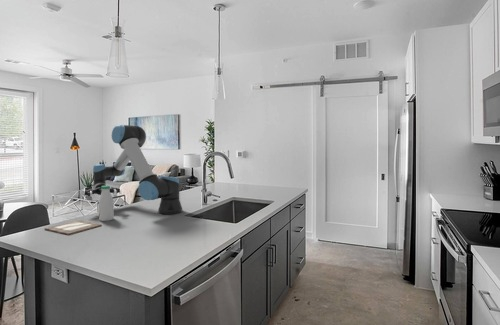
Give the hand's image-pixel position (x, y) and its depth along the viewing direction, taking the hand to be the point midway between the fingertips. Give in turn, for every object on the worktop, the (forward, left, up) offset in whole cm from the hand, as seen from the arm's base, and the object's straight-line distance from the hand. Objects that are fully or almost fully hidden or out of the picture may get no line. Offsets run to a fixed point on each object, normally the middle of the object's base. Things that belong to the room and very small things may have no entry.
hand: (103, 193), depth 179 cm
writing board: (-8, +24, -14) cm, 29 cm away
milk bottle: (-9, +5, -14) cm, 17 cm away
